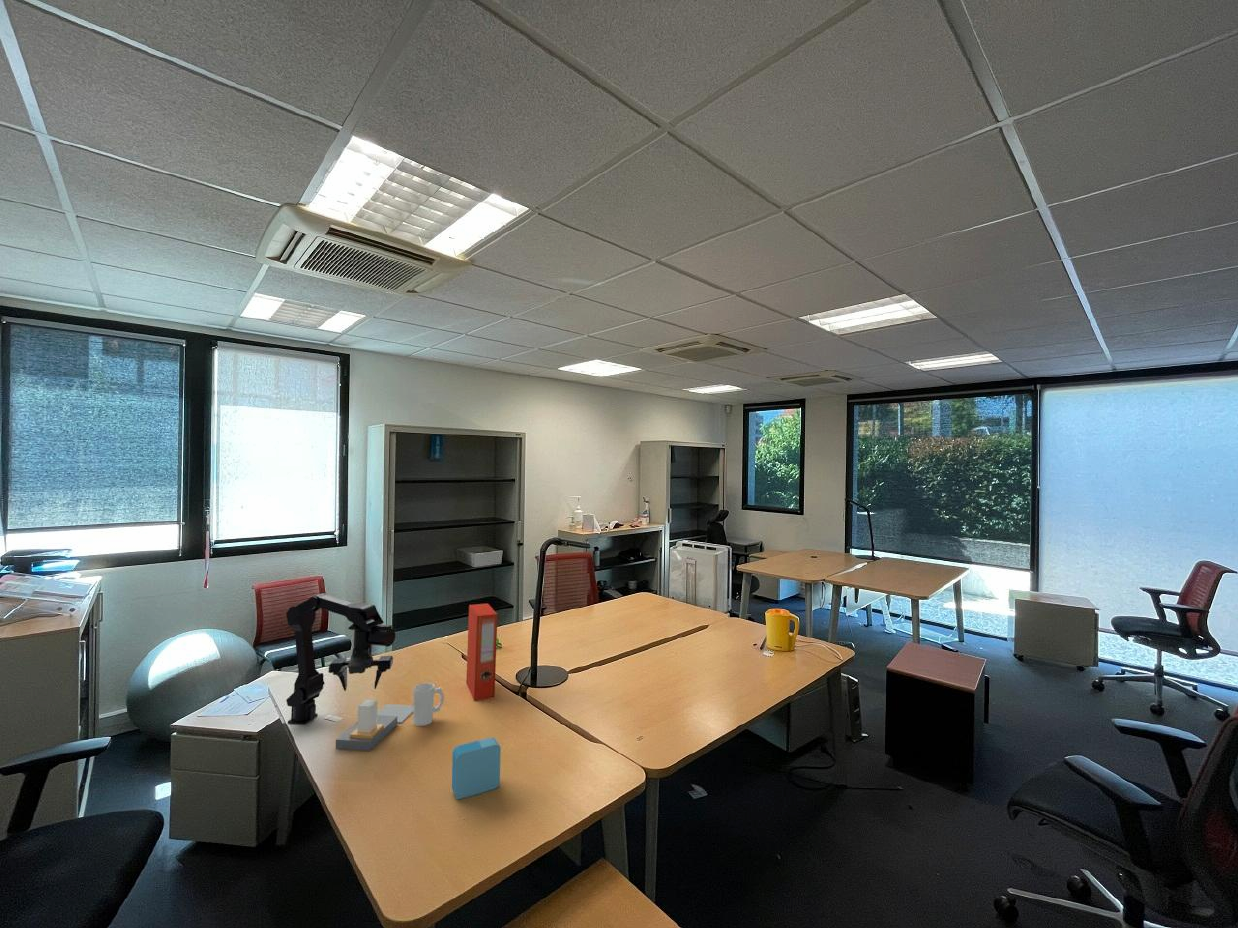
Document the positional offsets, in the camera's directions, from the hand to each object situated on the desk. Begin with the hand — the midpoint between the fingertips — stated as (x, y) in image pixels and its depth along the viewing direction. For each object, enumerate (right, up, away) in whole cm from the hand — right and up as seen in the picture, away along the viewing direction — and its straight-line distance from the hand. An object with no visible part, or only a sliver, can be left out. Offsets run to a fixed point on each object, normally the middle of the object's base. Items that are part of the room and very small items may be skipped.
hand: (360, 689), depth 164 cm
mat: (+7, -13, +9) cm, 17 cm away
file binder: (+32, -14, +30) cm, 46 cm away
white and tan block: (+7, -12, -9) cm, 17 cm away
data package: (+48, -13, -31) cm, 59 cm away
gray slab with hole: (+6, -13, -6) cm, 15 cm away
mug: (+21, -13, +5) cm, 25 cm away
